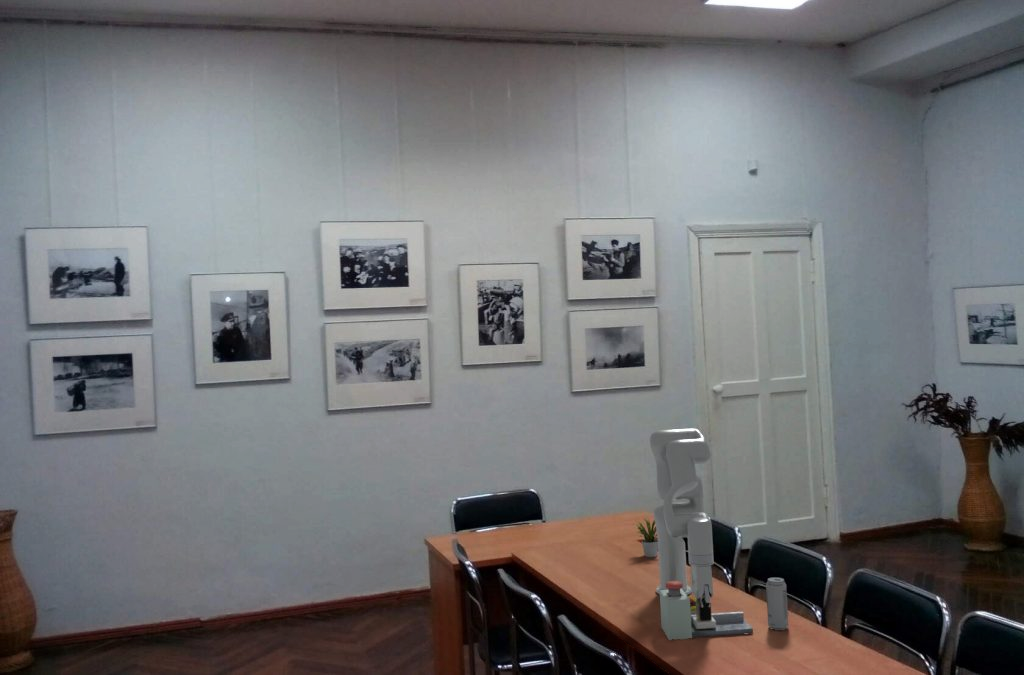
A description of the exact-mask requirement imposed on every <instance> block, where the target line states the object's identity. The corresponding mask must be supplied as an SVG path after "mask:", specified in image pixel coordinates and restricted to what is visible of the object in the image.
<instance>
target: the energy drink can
mask: <svg viewBox="0 0 1024 675" xmlns="http://www.w3.org/2000/svg"><path fill="white" fill-rule="evenodd" d="M765 589H766V590H765V591H766V612H767V625H768V626H769V628H770V629H771V628H772V629H775V630H774V631H776V630H783V631H786V630H787V628H788V627H789V612H788V611H789V609H788V595H787V594H788V592H787V584H786V582H785V579H784V578H782V577H774V576H773V577H769V578H767V582H766V584H765ZM772 629H771V630H772ZM785 629H786V630H785Z"/></svg>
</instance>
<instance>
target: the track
mask: <svg viewBox="0 0 1024 675" xmlns="http://www.w3.org/2000/svg"><path fill="white" fill-rule="evenodd" d="M711 614H712V617H713V618H714V620H715V621H716V628H705V629H696V627H695V626H694V624H693V617H696V615H691V629H692V637H693V638H707V637H706V636H709V637H721V636H720V635H724V636H736V635H735V634H740V635H745V634H744V633H753V634H754V629H753V627H752V626H751V625H750V624H749V623H748V622H747V621H746V619H745V617H744V611H735V612H734V611H731V612H716V613H711ZM717 635H718V636H717ZM703 636H705V637H703Z"/></svg>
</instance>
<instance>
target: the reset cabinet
mask: <svg viewBox="0 0 1024 675" xmlns="http://www.w3.org/2000/svg"><path fill="white" fill-rule="evenodd" d="M689 598H690V597H689V596H688V595H686V594H685V592H684V591H683V590H682V589H680V596H678V597H669V593H668V590H660V594H659V603H660V604H659V605H660V606H659V607H660V622H661V623H660V624H661V630H662V629H663V630H664V631H663V630H662V631H663V633H664V632H665V633H664V634H665V636H666V635H667V636H666V637H668V638H667V639H668V641H673V640H672V639H680V640H688V639H687V638H692V629H691V610H690V599H689ZM685 638H686V639H685Z"/></svg>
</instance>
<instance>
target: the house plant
mask: <svg viewBox="0 0 1024 675" xmlns="http://www.w3.org/2000/svg"><path fill="white" fill-rule="evenodd" d="M642 519H643V520H644V522H645V524H646V528H647V530H646V528H645V526H644V525H643V524H642V523H641V522H639V521H638V520H636V522H637V524H636V526H637V528H638V530H639V531H637V534H641V535H639V537H638V538H640V537H643V539H642V540H641V544H642V549H643V554H644V557H646V558H655V557H658V554H659V552H658V538H656V537H657V529H656V524H655V519H653V521H652V524H651V522H650V519H649V518H647V519H645V518H644V517H642ZM654 526H655V527H654Z"/></svg>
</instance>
